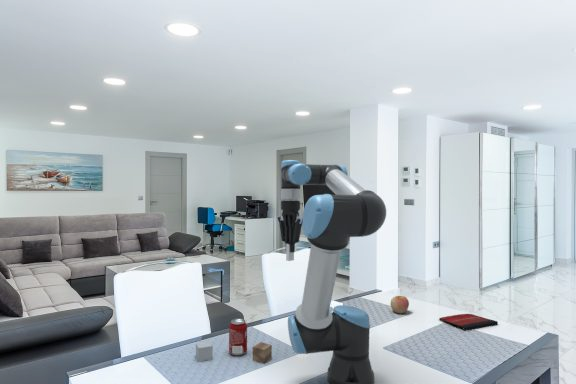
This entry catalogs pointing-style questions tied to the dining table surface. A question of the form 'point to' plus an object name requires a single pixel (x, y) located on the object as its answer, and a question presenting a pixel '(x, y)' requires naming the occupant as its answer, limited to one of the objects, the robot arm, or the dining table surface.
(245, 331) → the soda can
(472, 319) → the binder
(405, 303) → the apple
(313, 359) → the dining table surface
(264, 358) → the walnut cube
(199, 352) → the grey cube
